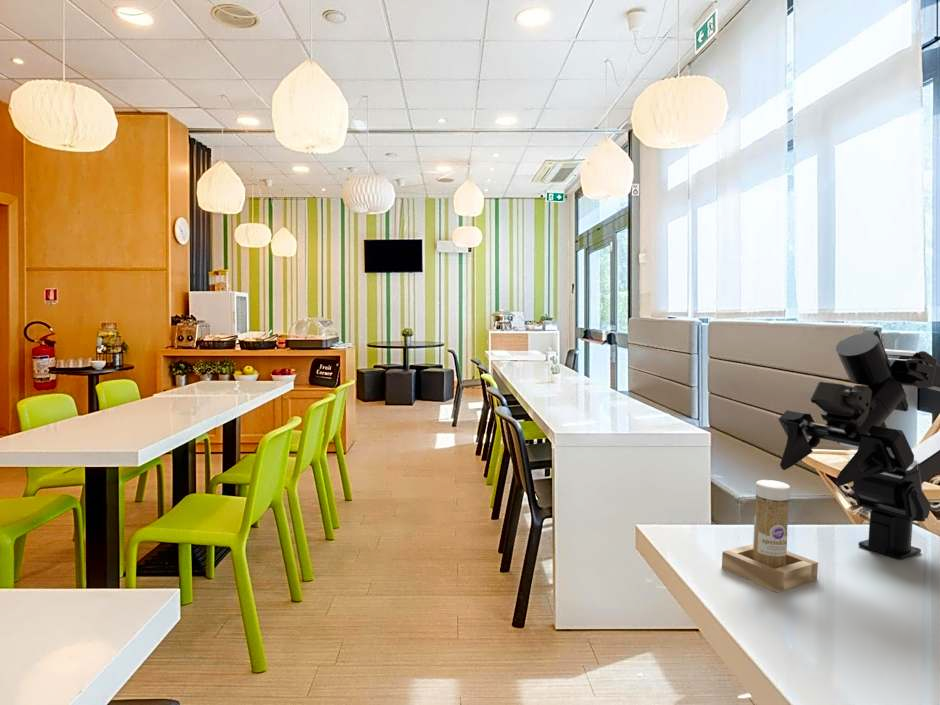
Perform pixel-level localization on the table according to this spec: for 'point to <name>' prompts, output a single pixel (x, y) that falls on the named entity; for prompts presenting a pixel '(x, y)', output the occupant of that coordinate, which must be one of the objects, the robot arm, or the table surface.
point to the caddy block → (770, 569)
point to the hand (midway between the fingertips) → (808, 475)
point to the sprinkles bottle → (771, 523)
